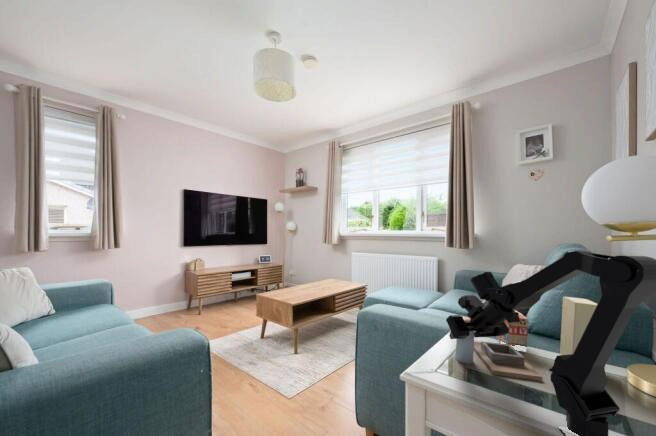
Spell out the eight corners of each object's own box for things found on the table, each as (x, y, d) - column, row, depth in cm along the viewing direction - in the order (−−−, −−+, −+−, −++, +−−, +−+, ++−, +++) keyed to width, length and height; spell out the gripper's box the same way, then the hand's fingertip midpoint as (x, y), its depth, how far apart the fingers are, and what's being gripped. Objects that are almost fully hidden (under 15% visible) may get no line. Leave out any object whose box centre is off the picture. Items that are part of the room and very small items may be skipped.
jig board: (542, 381, 77) (542, 368, 77) (492, 374, 79) (492, 361, 79) (508, 349, 96) (508, 338, 96) (469, 344, 99) (469, 334, 99)
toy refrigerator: (602, 376, 81) (604, 305, 82) (571, 370, 84) (574, 302, 84) (586, 363, 89) (589, 299, 89) (559, 358, 91) (561, 296, 92)
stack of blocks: (484, 328, 117) (485, 299, 117) (500, 330, 115) (501, 301, 116) (507, 351, 95) (509, 316, 96) (527, 353, 94) (528, 318, 95)
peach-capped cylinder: (475, 364, 84) (477, 322, 84) (458, 362, 85) (460, 320, 85) (470, 357, 89) (471, 317, 89) (453, 355, 90) (455, 315, 90)
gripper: (502, 288, 85) (473, 312, 96) (451, 289, 81) (427, 313, 91) (524, 323, 78) (491, 344, 88) (470, 326, 73) (441, 348, 84)
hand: (462, 336), depth 88 cm, fingers open, 9 cm apart
